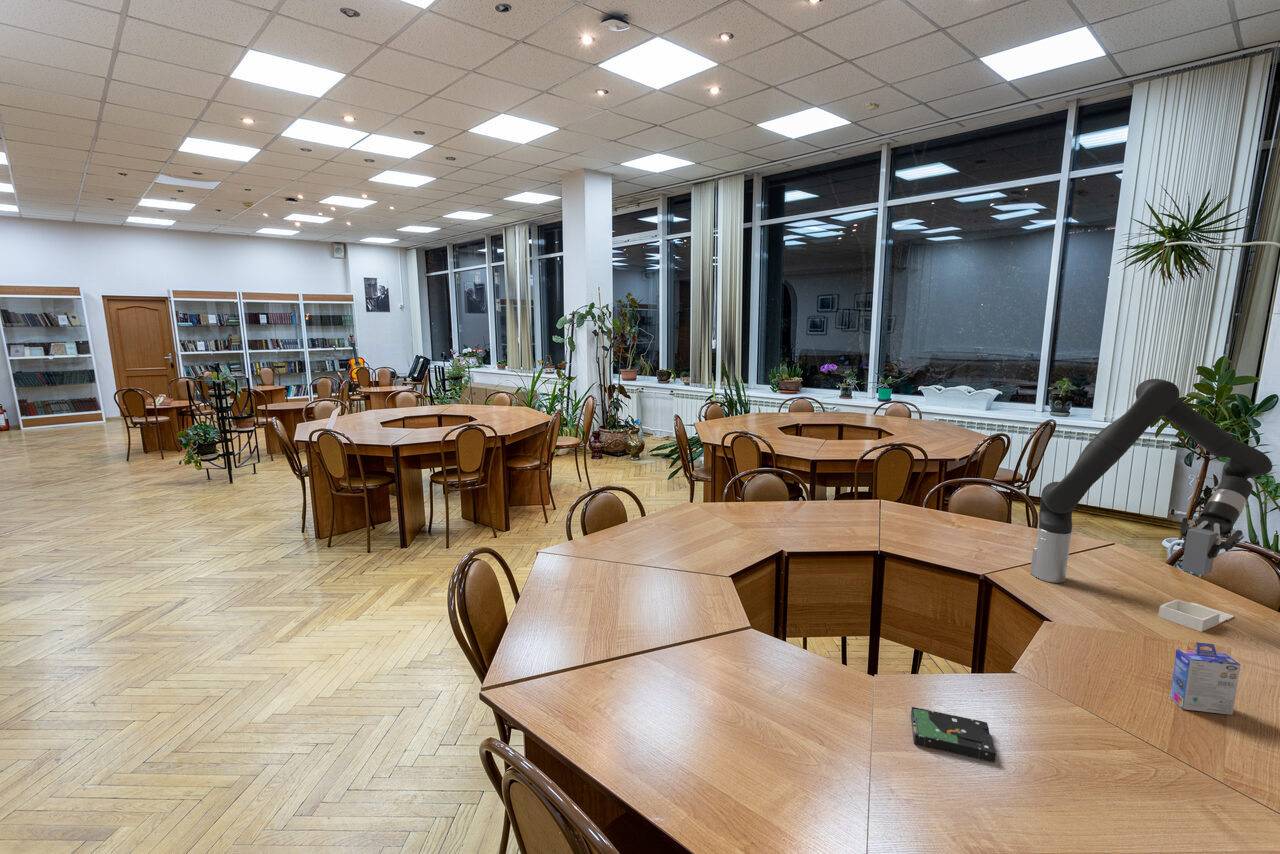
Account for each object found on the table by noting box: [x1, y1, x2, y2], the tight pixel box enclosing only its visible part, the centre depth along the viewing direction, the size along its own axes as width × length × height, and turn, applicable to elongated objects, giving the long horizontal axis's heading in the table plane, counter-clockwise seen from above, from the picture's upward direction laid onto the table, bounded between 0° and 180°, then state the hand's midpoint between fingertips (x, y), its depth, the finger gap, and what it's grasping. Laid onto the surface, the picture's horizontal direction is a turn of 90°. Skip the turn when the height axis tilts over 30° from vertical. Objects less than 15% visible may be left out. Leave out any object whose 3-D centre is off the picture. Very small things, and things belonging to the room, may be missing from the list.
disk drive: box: [910, 706, 997, 763], centre depth 126 cm, size 10×3×15 cm
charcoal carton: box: [1181, 526, 1218, 576], centre depth 175 cm, size 5×5×12 cm
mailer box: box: [1157, 598, 1235, 633], centre depth 181 cm, size 10×20×4 cm, turn 117°
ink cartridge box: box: [1169, 641, 1242, 716], centre depth 137 cm, size 10×6×14 cm, turn 78°
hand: (1197, 553), depth 175 cm, fingers closed on charcoal carton, 5 cm apart
